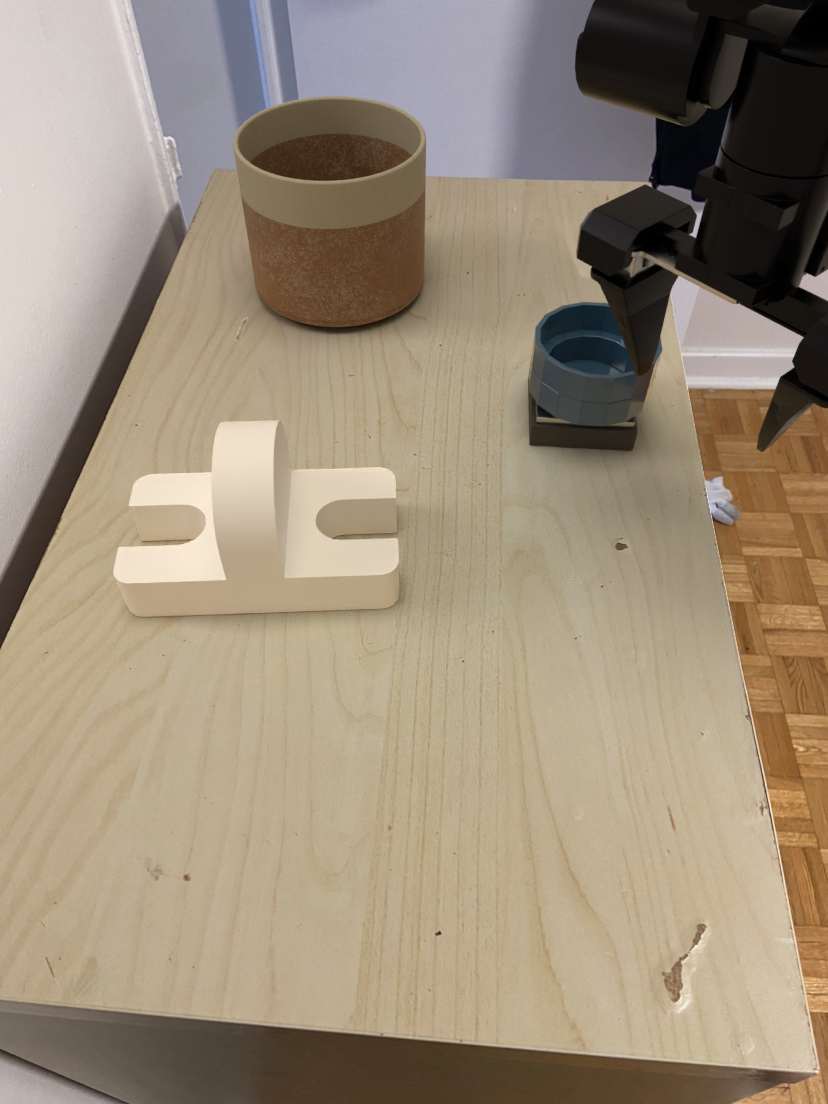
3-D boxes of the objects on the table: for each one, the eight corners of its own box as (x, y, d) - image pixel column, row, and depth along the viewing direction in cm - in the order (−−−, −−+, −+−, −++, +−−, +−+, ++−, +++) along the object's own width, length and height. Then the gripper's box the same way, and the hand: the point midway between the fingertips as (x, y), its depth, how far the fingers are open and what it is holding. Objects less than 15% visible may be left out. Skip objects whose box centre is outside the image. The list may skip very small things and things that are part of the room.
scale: (624, 384, 70) (630, 359, 68) (632, 450, 65) (639, 425, 63) (527, 380, 71) (531, 354, 69) (529, 445, 66) (532, 420, 64)
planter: (433, 328, 75) (436, 177, 65) (254, 339, 74) (228, 187, 64) (415, 235, 85) (415, 91, 75) (257, 243, 84) (235, 99, 74)
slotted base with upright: (400, 608, 55) (397, 494, 47) (124, 617, 55) (73, 504, 47) (395, 502, 62) (393, 385, 53) (147, 509, 61) (106, 392, 53)
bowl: (668, 417, 64) (684, 364, 60) (556, 441, 62) (565, 388, 58) (615, 346, 69) (626, 293, 66) (510, 367, 68) (516, 313, 64)
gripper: (1064, 168, 38) (912, 429, 50) (725, 52, 48) (665, 295, 60) (937, 253, 34) (804, 518, 46) (590, 106, 43) (554, 357, 55)
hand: (700, 408), depth 52 cm, fingers open, 9 cm apart
